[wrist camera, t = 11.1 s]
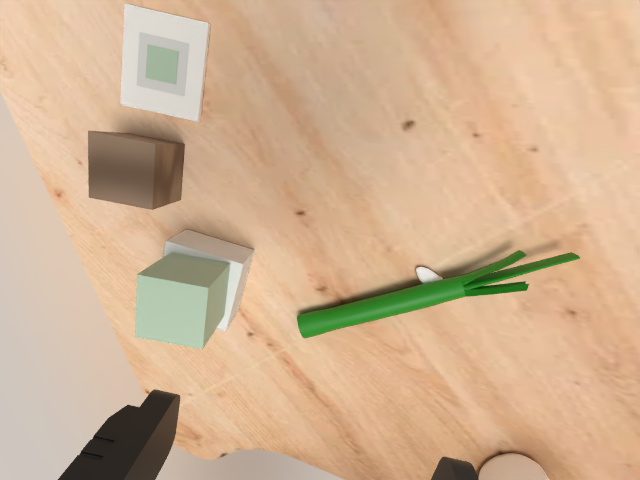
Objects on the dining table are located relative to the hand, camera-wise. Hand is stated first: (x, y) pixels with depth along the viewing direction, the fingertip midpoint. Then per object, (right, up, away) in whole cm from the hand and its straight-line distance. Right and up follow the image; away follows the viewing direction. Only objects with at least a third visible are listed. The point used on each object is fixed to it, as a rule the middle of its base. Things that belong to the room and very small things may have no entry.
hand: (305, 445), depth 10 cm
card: (-15, +23, +23) cm, 36 cm away
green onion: (+12, +1, +28) cm, 31 cm away
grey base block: (-12, +3, +29) cm, 31 cm away
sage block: (-12, +2, +24) cm, 27 cm away
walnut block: (-17, +14, +26) cm, 34 cm away
